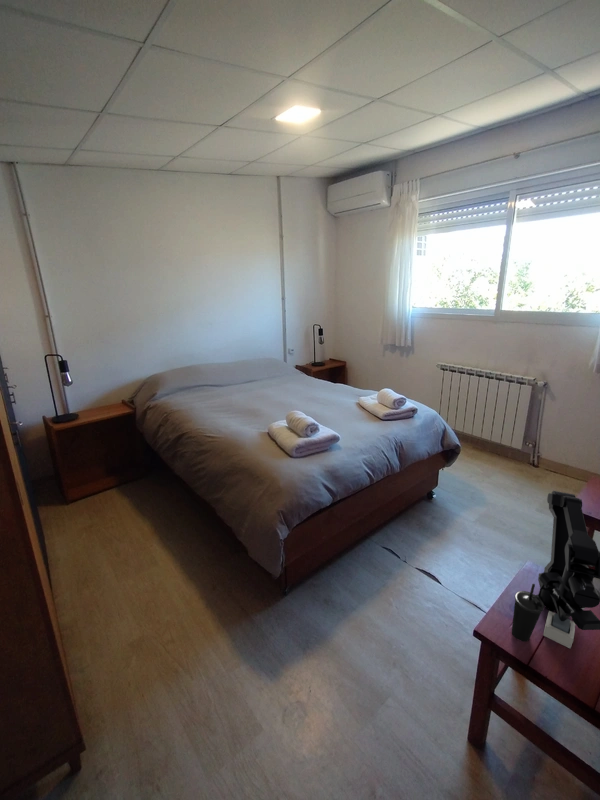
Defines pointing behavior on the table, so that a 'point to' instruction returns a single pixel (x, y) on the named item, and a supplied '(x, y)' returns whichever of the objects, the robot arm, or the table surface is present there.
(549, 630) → the switch box
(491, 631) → the table surface
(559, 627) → the button
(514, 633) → the drinking cup
